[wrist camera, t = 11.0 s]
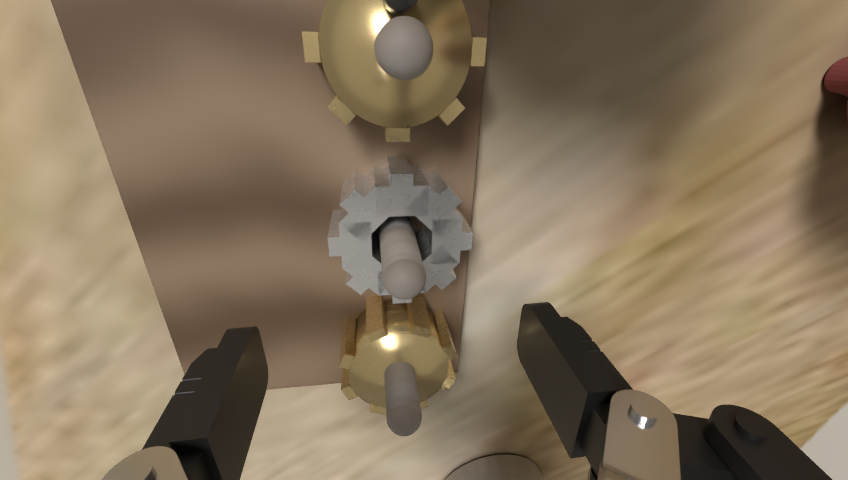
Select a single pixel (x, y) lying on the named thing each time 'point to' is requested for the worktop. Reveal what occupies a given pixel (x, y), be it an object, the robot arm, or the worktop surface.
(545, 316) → the robot arm
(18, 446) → the worktop surface
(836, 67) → the mechanical component
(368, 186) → the steel gear
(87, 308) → the worktop surface
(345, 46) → the gear
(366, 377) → the gear
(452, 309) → the gear board
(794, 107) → the worktop surface
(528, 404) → the worktop surface
